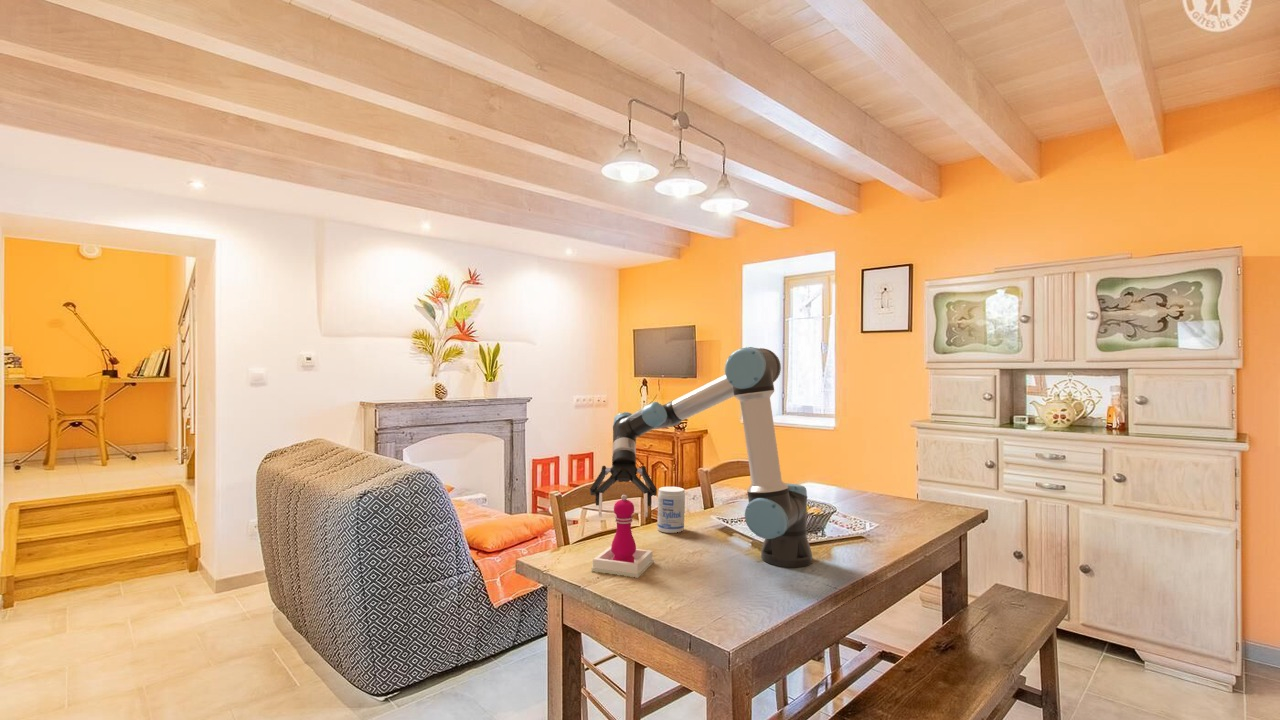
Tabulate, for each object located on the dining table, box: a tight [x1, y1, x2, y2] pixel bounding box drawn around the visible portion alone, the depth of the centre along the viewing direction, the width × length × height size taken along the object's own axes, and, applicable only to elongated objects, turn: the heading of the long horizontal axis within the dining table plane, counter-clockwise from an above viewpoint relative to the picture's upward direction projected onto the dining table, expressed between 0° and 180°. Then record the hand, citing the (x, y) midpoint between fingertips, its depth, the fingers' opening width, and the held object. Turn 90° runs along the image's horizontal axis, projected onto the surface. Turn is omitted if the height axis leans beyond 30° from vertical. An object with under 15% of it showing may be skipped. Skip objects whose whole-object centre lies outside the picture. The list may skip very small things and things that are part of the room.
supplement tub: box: [656, 486, 686, 534], centre depth 215 cm, size 10×10×15 cm
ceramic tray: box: [591, 545, 655, 579], centre depth 176 cm, size 14×14×4 cm
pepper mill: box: [610, 494, 637, 563], centre depth 176 cm, size 7×7×20 cm
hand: (623, 514), depth 178 cm, fingers open, 13 cm apart
